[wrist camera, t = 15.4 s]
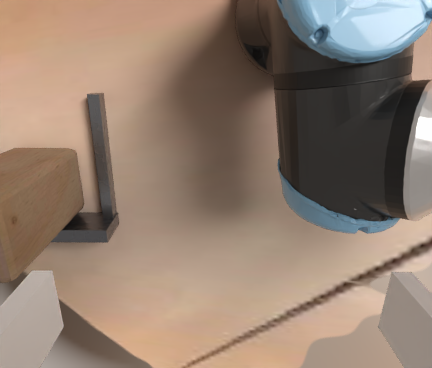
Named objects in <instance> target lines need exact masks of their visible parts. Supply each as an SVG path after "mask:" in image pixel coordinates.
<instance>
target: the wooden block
mask: <svg viewBox="0 0 432 368" xmlns="http://www.w3.org/2000/svg"><path fill="white" fill-rule="evenodd" d="M83 205H84V200H83V193H82V186H81V180H80V173H79V166H78V160H77V154H76V152H75V150H72V149H66V148H14V149H12V150H9V151H7V152H4V153H2V154H0V283H6V282H10V281H13V280H14V279H16V278H17V277H18V276H19V275H20V274H21V273H22V272H23V271H24V270H25V269H26V268H27V267H28V265H29V264H30V263H31V262H32V261H33V260H34V259H35V258H36V257H37V256H38V255H39V254H40V253H41V252H42V251H43V249H44V248H45V247H46V246H47V245H48V244H49V243H50V242H51V241H52V240H53V239H54V238H55V237H56V236H57V235H58V233H59V232H60V231H61V230H62V229H63V228H64V227H65V226H66V225H67V224H68V223H69V222H70V221H71V220H72V218H73V217H74V216H75V215H76V214H77V213H78V212H79V211H80V210H81V209H82V208H83Z"/></svg>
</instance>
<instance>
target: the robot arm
mask: <svg viewBox="0 0 432 368" xmlns="http://www.w3.org/2000/svg"><path fill="white" fill-rule="evenodd" d="M431 21H432V0H238V1H237V6H236V15H235V22H236V31H237V36H238V39H239V42H240V45H241V47H242V49H243V51H244V52H245V54H246V56H247V57H248V58H249V59H250V61H251V62H252V63H253V64H254V65H256V66H257V67H258V68H259V69H261V70H262V71H264V72H266V73H268V74H271V75H274V86H275V87H274V92H275V106H276V119H277V133H278V146H279V159H278V171H279V174H280V177H281V182H282V190H283V195H284V198H285V200H286V202H287V204H288V205H289V207H290V208H291V209H292V210H293V211H294V212H295V213H296V214H297V215H299V216H300V217H301V218H303V219H305V220H306V221H308V222H310V223H312V224H315V225H317V226H320V227H322V228H325V229H329V230H333V231H337V232H343V233H353V234H355V233H357V231H358V230H361V231H363V232H365V233H367V234H368V233H376V232H381V231H384V230H386V229H388V228H390V227H392V226H393V225H395V224H396V223H397V222H398V220H399V219H400V218H402V219H407V220H412V221H418V220H420V219H422V218H423V217H425V216H427V215H429V214H430V213H432V80H419V81H413V80H412V76H411V73H412V62H413V49H414V42H415V41H416V40H417V39H418V38H419V37H420V36H421V35H423V34H424V32H425V31H426V30H427V28H428V26H429V24H430V22H431ZM63 327H64V325H63V320H62V315H61V310H60V305H59V300H58V295H57V291H56V286H55V281H54V276H53V271H48V270H32V271H31V272H30V274H29V275H28V276H27V277H26V278H25V279H24V280H23V282H22V283H21V284H20V285H19V286H18V287H17V288H16V289H15V290H14V291H13V293H12V294H11V295H10V296H9V297H8V298H7V299H6V301H5V302H4V303H3V304H2V305H1V306H0V368H40V367H41V365H42V363H43V361H44V360H45V358H46V356H47V354H48V353H49V351H50V349H51V348H52V346H53V344H54V342H55V341H56V339H57V337H58V336H59V334H60V332H61V330H62V329H63ZM378 328H379V329H380V330H381V332H382V334H383V336H384V337H385V339H386V340H387V342H388V343H389V345H390V347H391V348H392V350H393V351H394V353H395V354H396V356H397V358H398V359H399V361H400V362H401V364H402V365H403V367H404V368H432V293H431V292H430V291H429V290H428V289H427V288H426V287H425V286H424V285H423V284H422V283H421V282H420V281H419V280H418V278H416V277H415V275H414V274H413V273H412V272H392V273H391V277H390V281H389V286H388V289H387V293H386V297H385V301H384V305H383V309H382V313H381V317H380V322H379V326H378Z"/></svg>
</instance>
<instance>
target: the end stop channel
mask: <svg viewBox="0 0 432 368" xmlns="http://www.w3.org/2000/svg"><path fill="white" fill-rule="evenodd" d="M87 98H88V105H89V113H90V121H91V129H92V136H93V144H94V152H95V160H96V168H97V175H98V183H99V191H100V199H101V207H102V213H77V214H76V215H75V216H74V217H73V218H72V220H71V221H70V222H69V223H68V224H67V225H66V226H65V227H64V228H63V229H62V230H61V231H60V232H59V233H58V235H57V236H56V237H55V238H54V239H53V240H52V241H51V242H108V241H109V239H110V238H111V236H112V235H113V233H114V231H115V230H116V228H117V226H118V225H119V218H118V213H117V211H116V202H115V192H114V183H113V174H112V165H111V156H110V147H109V138H108V129H107V120H106V111H105V102H104V93H91V94H87Z"/></svg>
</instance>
